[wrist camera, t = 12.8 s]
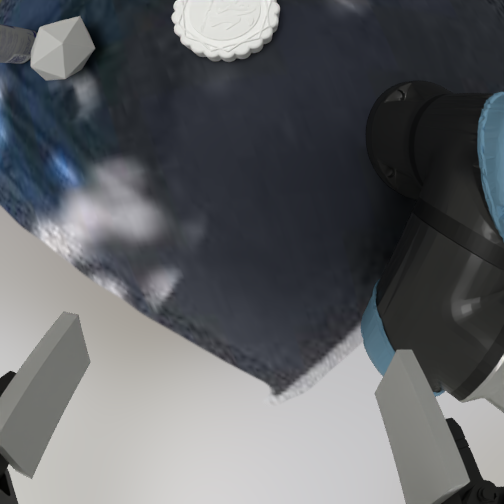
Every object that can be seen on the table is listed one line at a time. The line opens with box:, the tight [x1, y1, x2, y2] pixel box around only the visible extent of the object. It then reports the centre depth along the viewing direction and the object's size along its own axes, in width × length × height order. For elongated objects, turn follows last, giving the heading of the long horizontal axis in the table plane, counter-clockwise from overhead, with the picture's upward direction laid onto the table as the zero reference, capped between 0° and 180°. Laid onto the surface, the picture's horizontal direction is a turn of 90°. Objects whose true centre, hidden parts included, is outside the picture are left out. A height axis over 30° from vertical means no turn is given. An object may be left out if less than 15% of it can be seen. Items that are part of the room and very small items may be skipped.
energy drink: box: [0, 24, 37, 64], centre depth 24 cm, size 5×5×12 cm
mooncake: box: [172, 0, 280, 62], centre depth 28 cm, size 12×12×4 cm
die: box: [31, 16, 95, 80], centre depth 27 cm, size 8×9×10 cm
